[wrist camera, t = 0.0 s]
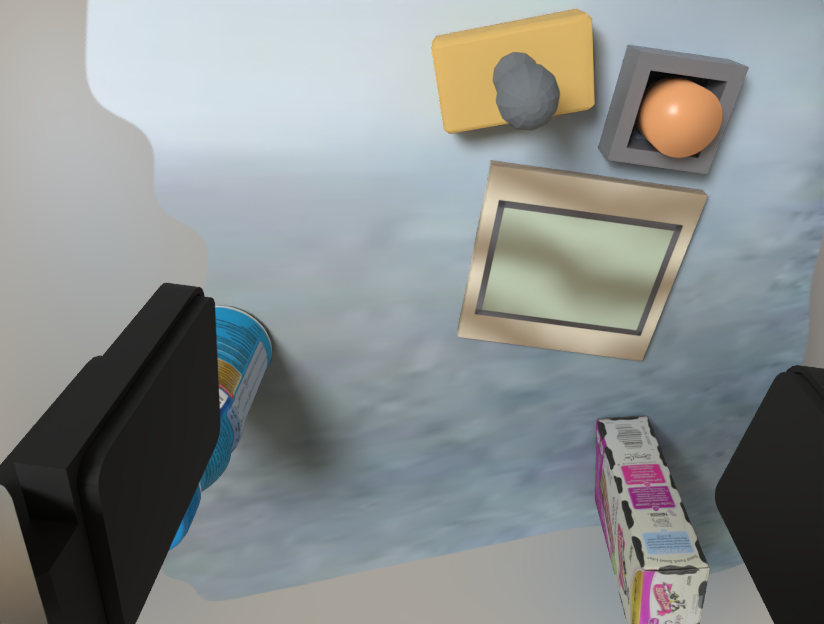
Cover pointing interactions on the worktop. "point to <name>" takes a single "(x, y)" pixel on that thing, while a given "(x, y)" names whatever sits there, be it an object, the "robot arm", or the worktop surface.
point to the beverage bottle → (232, 391)
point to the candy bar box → (646, 527)
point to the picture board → (575, 259)
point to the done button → (678, 116)
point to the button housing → (629, 92)
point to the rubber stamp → (515, 72)
